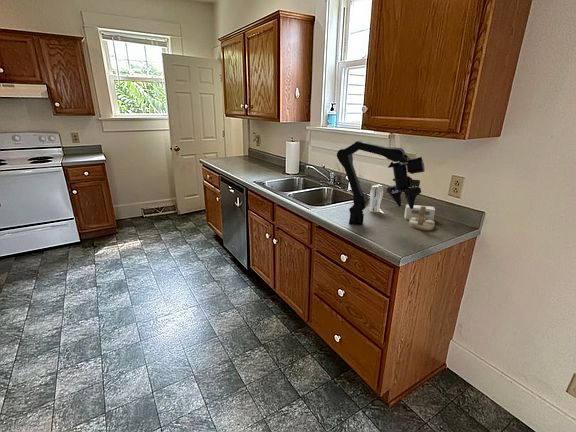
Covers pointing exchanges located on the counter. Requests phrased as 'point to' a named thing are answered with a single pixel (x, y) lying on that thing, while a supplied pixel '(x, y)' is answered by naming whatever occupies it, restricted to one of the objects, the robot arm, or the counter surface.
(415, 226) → the cam dial
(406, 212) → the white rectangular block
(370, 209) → the beer glass
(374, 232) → the counter surface
